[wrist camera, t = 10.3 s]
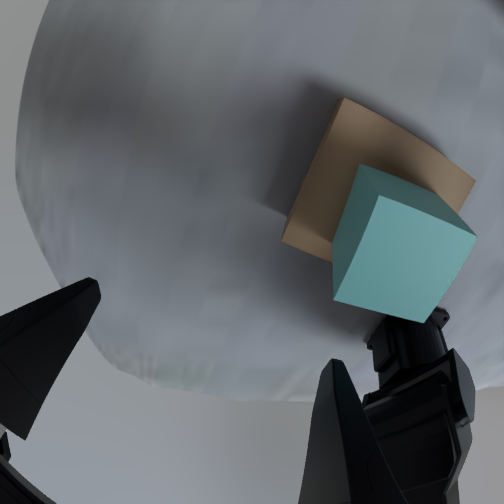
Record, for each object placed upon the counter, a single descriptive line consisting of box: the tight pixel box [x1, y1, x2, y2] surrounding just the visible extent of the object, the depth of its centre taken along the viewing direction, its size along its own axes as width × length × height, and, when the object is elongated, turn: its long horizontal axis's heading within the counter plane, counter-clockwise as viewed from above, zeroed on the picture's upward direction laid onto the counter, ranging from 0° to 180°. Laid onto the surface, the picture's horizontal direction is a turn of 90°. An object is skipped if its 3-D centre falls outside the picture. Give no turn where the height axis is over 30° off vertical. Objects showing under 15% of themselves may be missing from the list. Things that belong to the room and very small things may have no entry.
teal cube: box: [332, 163, 477, 323], centre depth 12 cm, size 5×5×5 cm
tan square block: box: [281, 98, 476, 263], centre depth 15 cm, size 9×9×4 cm
